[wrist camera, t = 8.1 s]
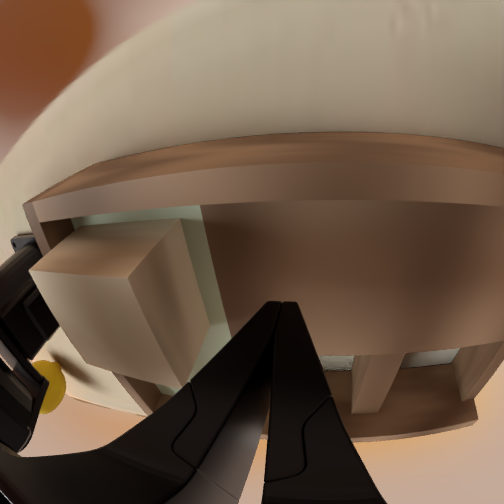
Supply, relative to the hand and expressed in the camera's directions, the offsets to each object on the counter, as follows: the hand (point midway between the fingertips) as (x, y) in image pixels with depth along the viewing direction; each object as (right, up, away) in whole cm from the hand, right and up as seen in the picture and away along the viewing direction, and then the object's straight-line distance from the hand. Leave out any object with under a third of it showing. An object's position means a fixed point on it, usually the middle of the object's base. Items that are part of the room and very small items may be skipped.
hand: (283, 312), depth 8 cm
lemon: (-24, -12, +18) cm, 33 cm away
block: (-5, +1, +2) cm, 5 cm away
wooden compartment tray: (+2, 0, +5) cm, 5 cm away
